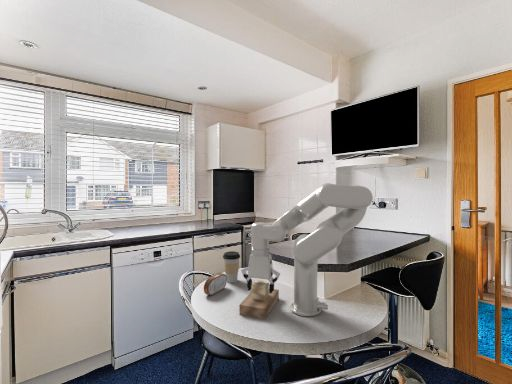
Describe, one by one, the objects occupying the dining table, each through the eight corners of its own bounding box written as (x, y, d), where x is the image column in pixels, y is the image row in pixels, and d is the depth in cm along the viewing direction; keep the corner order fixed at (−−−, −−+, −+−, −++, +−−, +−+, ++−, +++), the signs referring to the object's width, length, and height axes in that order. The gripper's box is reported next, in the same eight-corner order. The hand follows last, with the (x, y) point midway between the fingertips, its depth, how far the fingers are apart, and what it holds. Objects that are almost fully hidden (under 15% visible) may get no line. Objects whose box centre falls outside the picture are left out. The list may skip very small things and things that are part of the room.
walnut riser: (278, 298, 130) (278, 289, 130) (265, 318, 111) (265, 308, 111) (256, 295, 134) (256, 286, 134) (239, 314, 115) (239, 304, 115)
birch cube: (269, 295, 124) (269, 281, 124) (264, 300, 119) (264, 286, 118) (256, 293, 126) (256, 279, 126) (251, 298, 121) (251, 284, 120)
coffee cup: (233, 276, 159) (233, 250, 158) (244, 281, 152) (243, 253, 151) (219, 280, 153) (219, 253, 152) (229, 285, 146) (229, 256, 145)
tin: (223, 286, 145) (222, 270, 144) (228, 287, 143) (227, 271, 143) (203, 297, 132) (202, 279, 132) (208, 298, 130) (208, 280, 130)
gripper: (282, 250, 122) (282, 290, 123) (244, 247, 128) (245, 285, 129) (277, 255, 115) (277, 296, 116) (238, 252, 121) (238, 291, 122)
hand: (260, 290), depth 122 cm, fingers open, 9 cm apart
